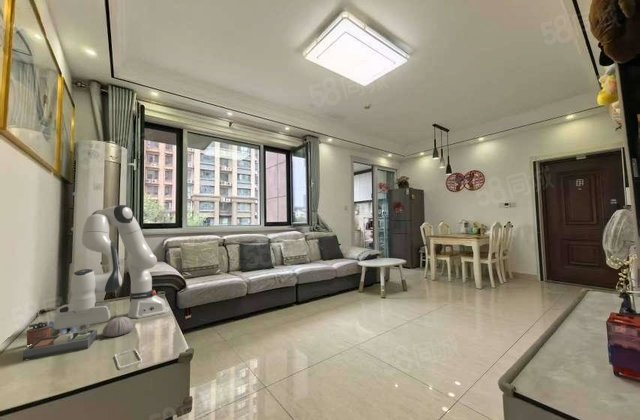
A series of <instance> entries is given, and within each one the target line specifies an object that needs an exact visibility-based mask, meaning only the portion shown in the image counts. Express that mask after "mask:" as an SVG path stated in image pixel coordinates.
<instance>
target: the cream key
mask: <svg viewBox="0 0 640 420" xmlns="http://www.w3.org/2000/svg"><path fill="white" fill-rule="evenodd" d="M72 338H73V333H66V334H64V335H60V336H59V337H58V338H56V339H55V340H54V345H56V344H62V343H67V342H69V341H70V340H71V339H72Z"/></svg>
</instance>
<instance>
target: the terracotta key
mask: <svg viewBox="0 0 640 420" xmlns="http://www.w3.org/2000/svg"><path fill="white" fill-rule="evenodd" d="M54 340H55V338H54V339H48V340H42V341H40V342H39V343H38V344H36V345H35V346H34V347H33V348H39V347H44V346H50V345H53V344H54Z"/></svg>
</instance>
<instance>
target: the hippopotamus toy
mask: <svg viewBox="0 0 640 420" xmlns="http://www.w3.org/2000/svg"><path fill="white" fill-rule="evenodd" d="M53 323H54V318H53V319H51V320H50V321H49V322H48V324H47V325H51V329H54V328H53ZM69 328H70V329H69ZM69 328H63V329H59V333H57V335H61V334H70V333H73V332H78V331H77V330H76V326H75V327H69ZM67 329H68V330H69V331H68V330H67Z"/></svg>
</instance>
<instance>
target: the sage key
mask: <svg viewBox="0 0 640 420" xmlns="http://www.w3.org/2000/svg"><path fill="white" fill-rule="evenodd" d="M90 334H91V332H90V333H87V334H84V335H77V336H76V337H75V338H74V339H73V341H79V340H84V339H87V337H88V336H89V335H90Z"/></svg>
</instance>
